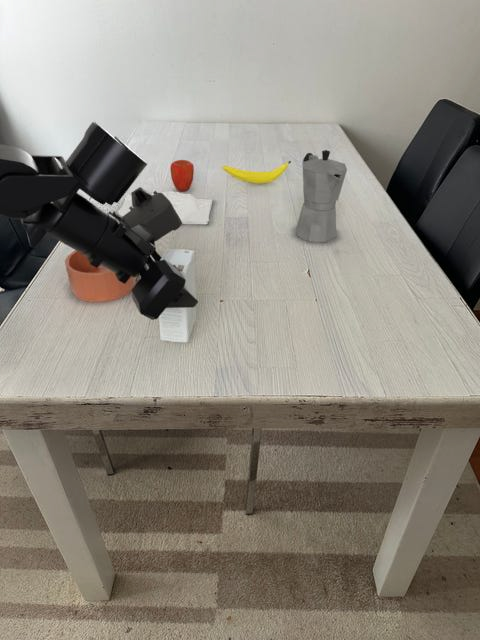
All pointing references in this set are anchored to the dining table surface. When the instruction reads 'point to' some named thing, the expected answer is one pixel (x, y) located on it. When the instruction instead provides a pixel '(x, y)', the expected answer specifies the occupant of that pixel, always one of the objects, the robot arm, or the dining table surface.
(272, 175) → the banana
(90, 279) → the crock
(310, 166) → the coffeepot
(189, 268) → the cosmetic box
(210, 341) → the dining table surface
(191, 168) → the red rounded piece
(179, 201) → the terrain model
